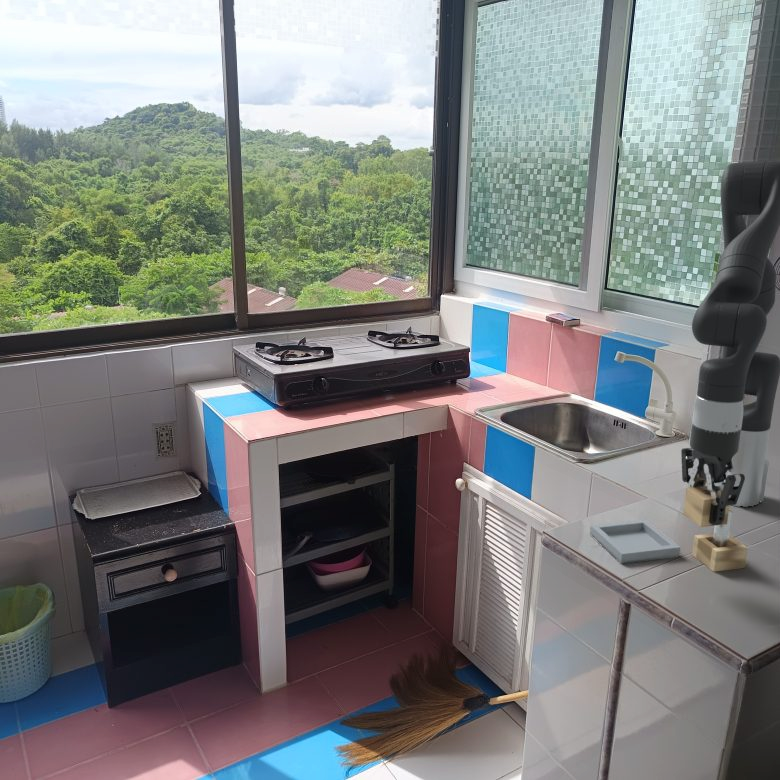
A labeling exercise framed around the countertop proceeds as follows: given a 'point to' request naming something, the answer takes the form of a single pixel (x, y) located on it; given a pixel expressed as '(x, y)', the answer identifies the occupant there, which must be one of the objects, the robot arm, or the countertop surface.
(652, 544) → the tray
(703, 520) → the block
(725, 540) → the cylinder
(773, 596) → the countertop surface
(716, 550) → the oak block
